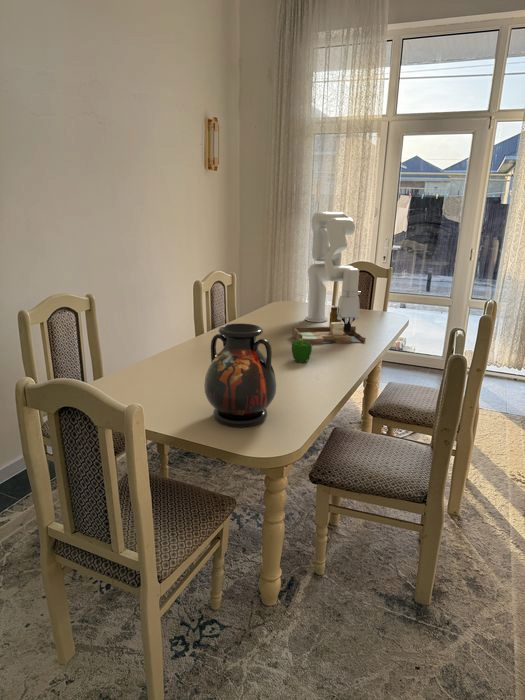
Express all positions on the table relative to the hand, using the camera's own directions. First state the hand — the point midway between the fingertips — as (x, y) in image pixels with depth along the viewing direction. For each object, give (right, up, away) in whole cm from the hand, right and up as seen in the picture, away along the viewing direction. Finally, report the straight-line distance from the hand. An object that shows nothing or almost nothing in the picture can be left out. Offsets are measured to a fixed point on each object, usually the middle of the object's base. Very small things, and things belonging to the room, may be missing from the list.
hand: (347, 331), depth 241 cm
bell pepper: (-25, -14, -35) cm, 46 cm away
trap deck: (-9, -4, -2) cm, 10 cm away
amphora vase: (-48, -30, -91) cm, 107 cm away
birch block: (-5, -1, -1) cm, 5 cm away
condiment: (-3, +1, +16) cm, 16 cm away
